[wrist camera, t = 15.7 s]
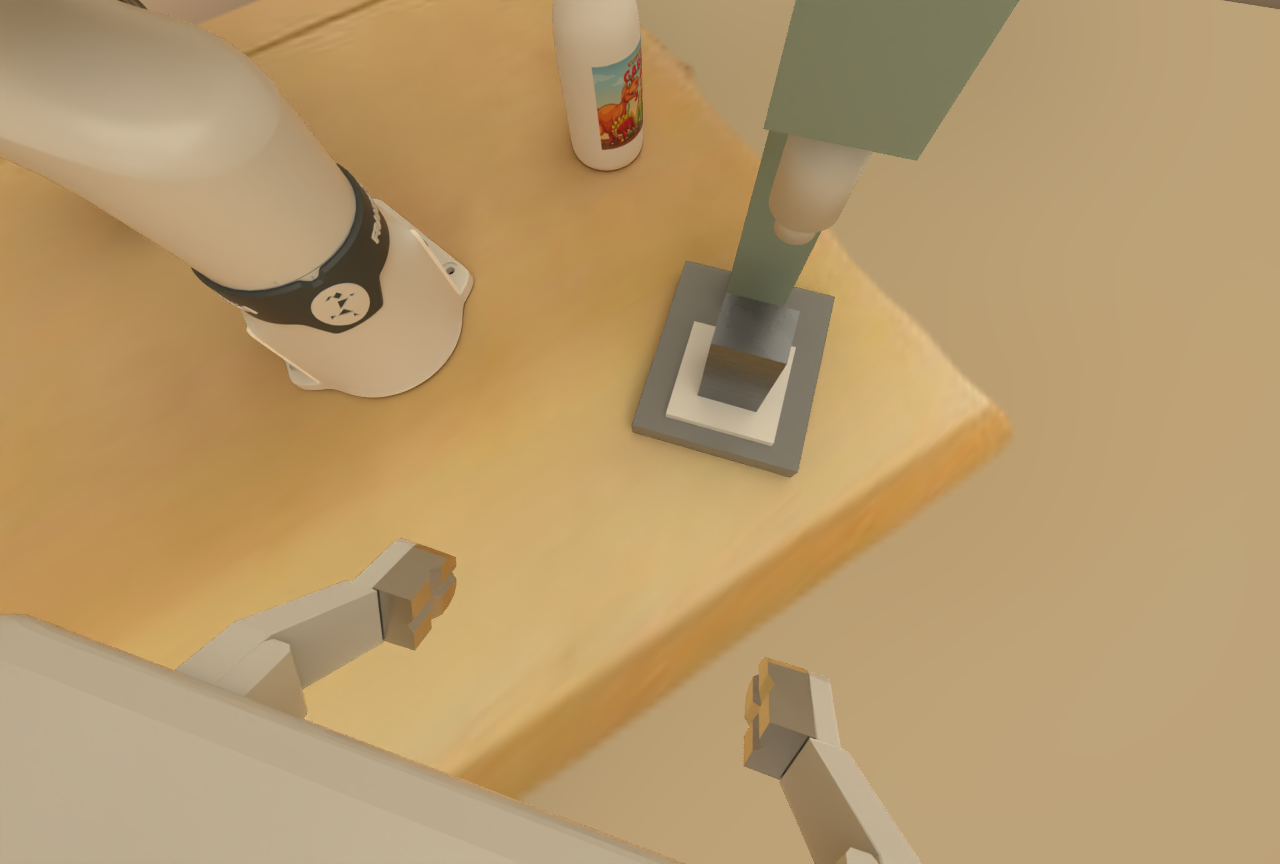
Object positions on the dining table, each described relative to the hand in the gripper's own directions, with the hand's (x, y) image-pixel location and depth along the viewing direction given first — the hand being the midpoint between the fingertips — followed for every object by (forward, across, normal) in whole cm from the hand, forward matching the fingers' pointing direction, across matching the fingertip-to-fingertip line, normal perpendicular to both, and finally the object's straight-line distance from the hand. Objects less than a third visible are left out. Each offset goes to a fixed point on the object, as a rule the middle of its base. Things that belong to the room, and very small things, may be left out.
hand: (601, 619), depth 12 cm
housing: (+29, -3, +4) cm, 30 cm away
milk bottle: (+49, +16, -11) cm, 53 cm away
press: (+33, -7, +4) cm, 34 cm away
